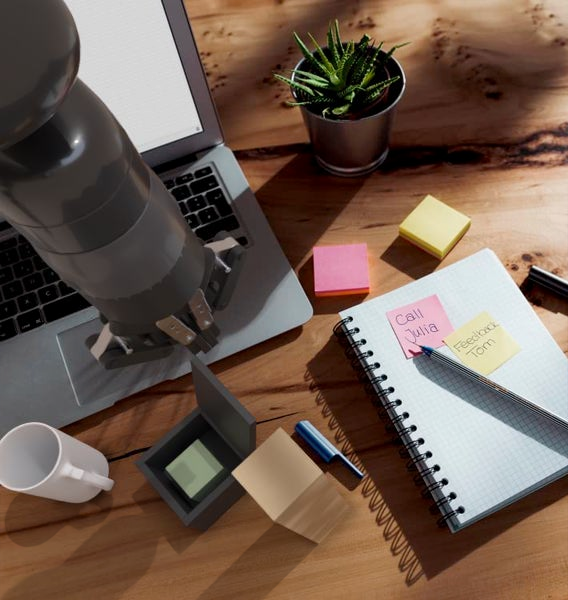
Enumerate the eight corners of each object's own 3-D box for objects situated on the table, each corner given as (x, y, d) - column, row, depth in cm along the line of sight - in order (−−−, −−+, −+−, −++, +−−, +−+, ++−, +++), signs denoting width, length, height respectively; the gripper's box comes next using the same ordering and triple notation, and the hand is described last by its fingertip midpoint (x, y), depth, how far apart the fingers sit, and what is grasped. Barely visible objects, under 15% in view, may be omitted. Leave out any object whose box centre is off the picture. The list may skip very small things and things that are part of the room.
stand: (318, 544, 73) (273, 521, 49) (288, 510, 74) (230, 472, 50) (351, 510, 74) (323, 472, 50) (321, 478, 76) (280, 426, 52)
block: (203, 503, 74) (190, 498, 70) (178, 475, 75) (164, 468, 71) (234, 474, 75) (223, 467, 71) (209, 446, 76) (197, 438, 72)
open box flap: (249, 425, 61) (256, 419, 62) (189, 359, 64) (196, 355, 64) (250, 463, 69) (256, 458, 70) (196, 404, 72) (202, 399, 72)
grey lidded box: (205, 531, 73) (186, 526, 67) (156, 473, 76) (133, 462, 70) (267, 472, 76) (254, 461, 70) (217, 417, 79) (201, 402, 72)
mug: (41, 494, 75) (-22, 477, 64) (71, 438, 78) (15, 413, 67) (119, 523, 74) (68, 511, 63) (147, 465, 76) (103, 444, 66)
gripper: (171, 133, 41) (238, 261, 57) (-16, 270, 37) (111, 365, 53) (248, 205, 39) (295, 317, 55) (58, 358, 35) (168, 430, 51)
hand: (204, 341), depth 54 cm, fingers closed
